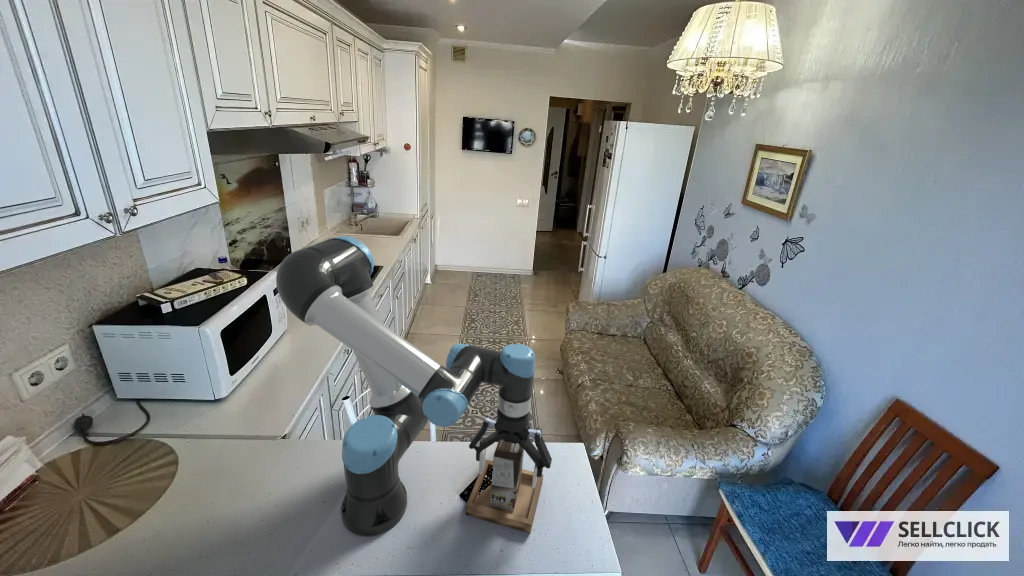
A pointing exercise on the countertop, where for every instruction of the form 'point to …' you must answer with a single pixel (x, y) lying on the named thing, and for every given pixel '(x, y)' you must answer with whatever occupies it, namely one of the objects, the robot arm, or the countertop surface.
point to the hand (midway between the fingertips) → (507, 477)
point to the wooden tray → (512, 519)
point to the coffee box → (506, 475)
